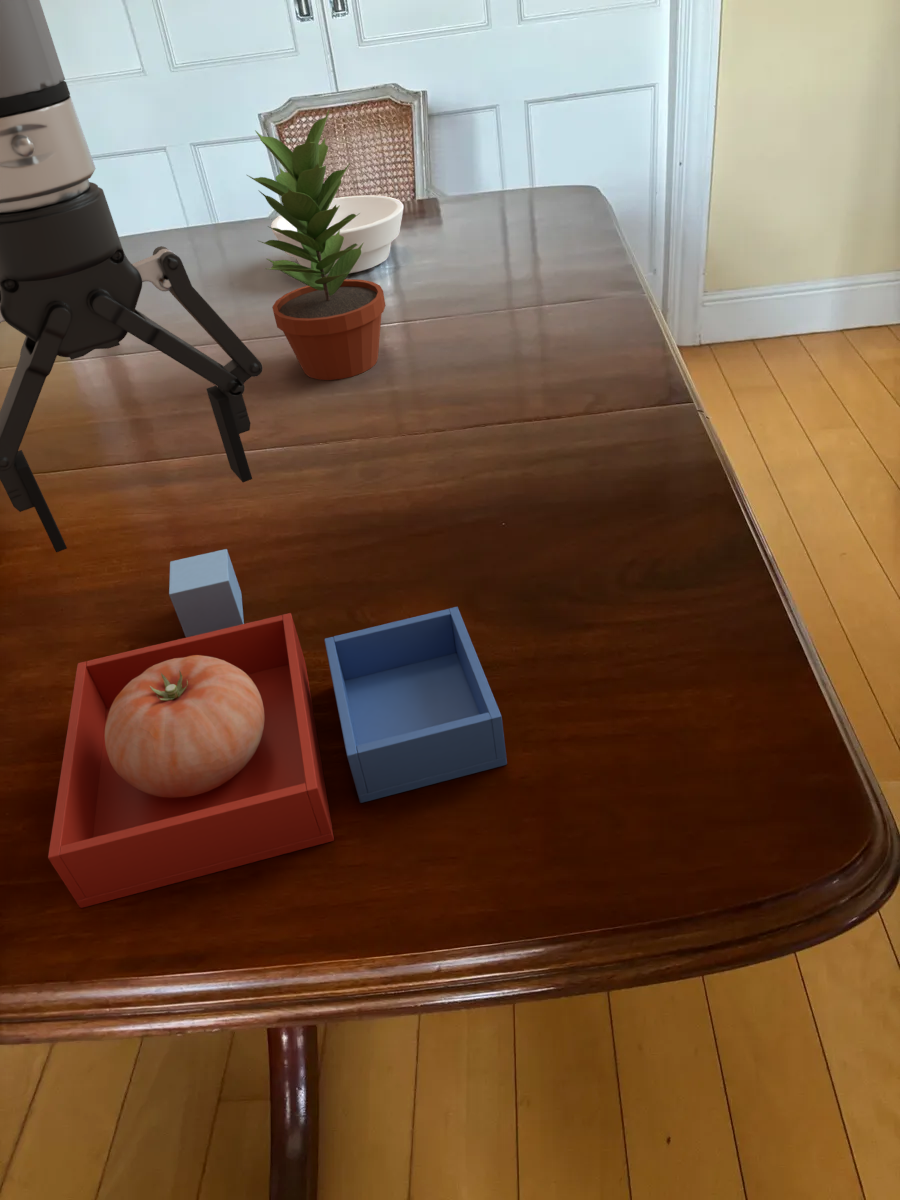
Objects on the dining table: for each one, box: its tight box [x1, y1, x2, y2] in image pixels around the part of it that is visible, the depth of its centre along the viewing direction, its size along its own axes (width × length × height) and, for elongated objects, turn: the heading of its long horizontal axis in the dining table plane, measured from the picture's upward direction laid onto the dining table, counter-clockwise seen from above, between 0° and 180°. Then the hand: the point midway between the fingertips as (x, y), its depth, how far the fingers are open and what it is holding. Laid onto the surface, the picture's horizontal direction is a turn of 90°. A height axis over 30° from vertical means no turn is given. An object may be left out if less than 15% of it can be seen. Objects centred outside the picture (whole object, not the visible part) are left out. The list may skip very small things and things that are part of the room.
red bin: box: [47, 612, 335, 909], centre depth 63 cm, size 16×18×5 cm
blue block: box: [168, 548, 245, 638], centre depth 78 cm, size 5×5×5 cm
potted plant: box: [246, 108, 387, 381], centre depth 111 cm, size 15×15×30 cm
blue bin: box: [324, 606, 508, 804], centre depth 65 cm, size 10×12×5 cm
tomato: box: [105, 655, 264, 798], centre depth 62 cm, size 11×11×8 cm
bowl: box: [270, 194, 404, 277], centre depth 152 cm, size 22×22×8 cm
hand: (153, 507), depth 64 cm, fingers open, 13 cm apart
